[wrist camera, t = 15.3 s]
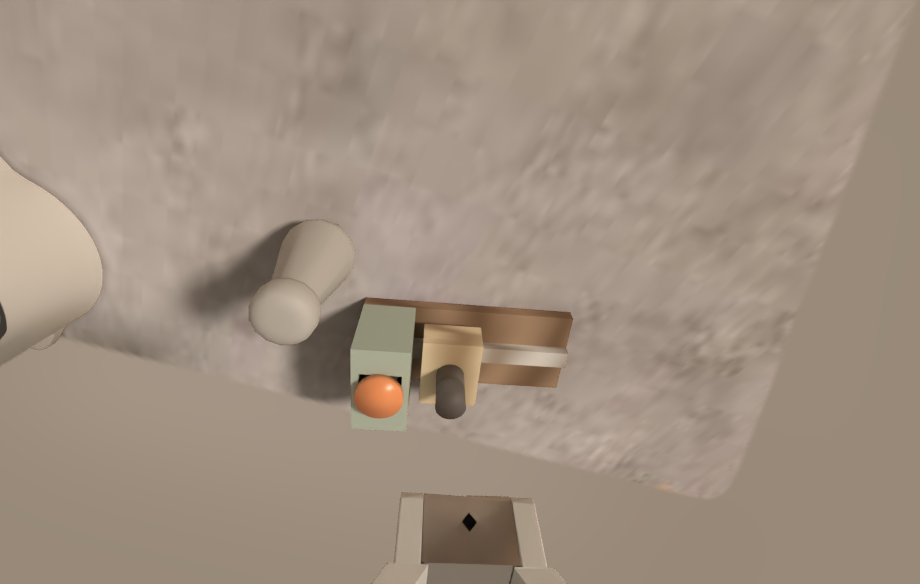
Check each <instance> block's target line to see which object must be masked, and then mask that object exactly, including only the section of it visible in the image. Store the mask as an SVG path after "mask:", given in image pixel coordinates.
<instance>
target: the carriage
mask: <svg viewBox="0 0 920 584" xmlns="http://www.w3.org/2000/svg"><path fill="white" fill-rule="evenodd" d="M482 353H483V340H482V332H481V328H479V327H465V326H450V325H436V324H425V325H424V338H423V351H422V364H421V377H420V390H419V403H430V404H435V409H436V412H437V414H438V415H439V416H441V417H443V418H445V419H455V418H458V417H460V416H461V415H463V413H464V412H465V410H466V406H475V400H476V393H477V387H478V380H479V373H480V367H481V360H482Z"/></svg>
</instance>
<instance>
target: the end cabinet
mask: <svg viewBox="0 0 920 584" xmlns="http://www.w3.org/2000/svg"><path fill="white" fill-rule="evenodd" d="M415 313H416V308H412V307H398V306H384V305H371V304H364V306H363V309H362V312H361V316H360V319H359V322H358V326H357V329H356V332H355V336H354V339H353V342H352V346H351V349H350V368H351V428H356V429H374V430H395V431H406V427H407V417H408V406H409V396H410V385H411V373H412V355H413V341H414V328H415ZM364 374H365V375H375V374H381V375H387V376H397V377H399V384H400V385H401V387H402V389H403V403H402V406H401V408H400V410H399V411H398V412H397V413H396V414H394V415H393V416H390V417H387V418H381V419H379V418H372V417H368V416H366V415H364V414H363V413H361V412H360V411H359V410H358V409H357V407H356V406H355V403H354V394H355V390H356V387H357V385H358V383H359V382H360V381H361V380H362V379H363V378H364Z"/></svg>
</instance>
